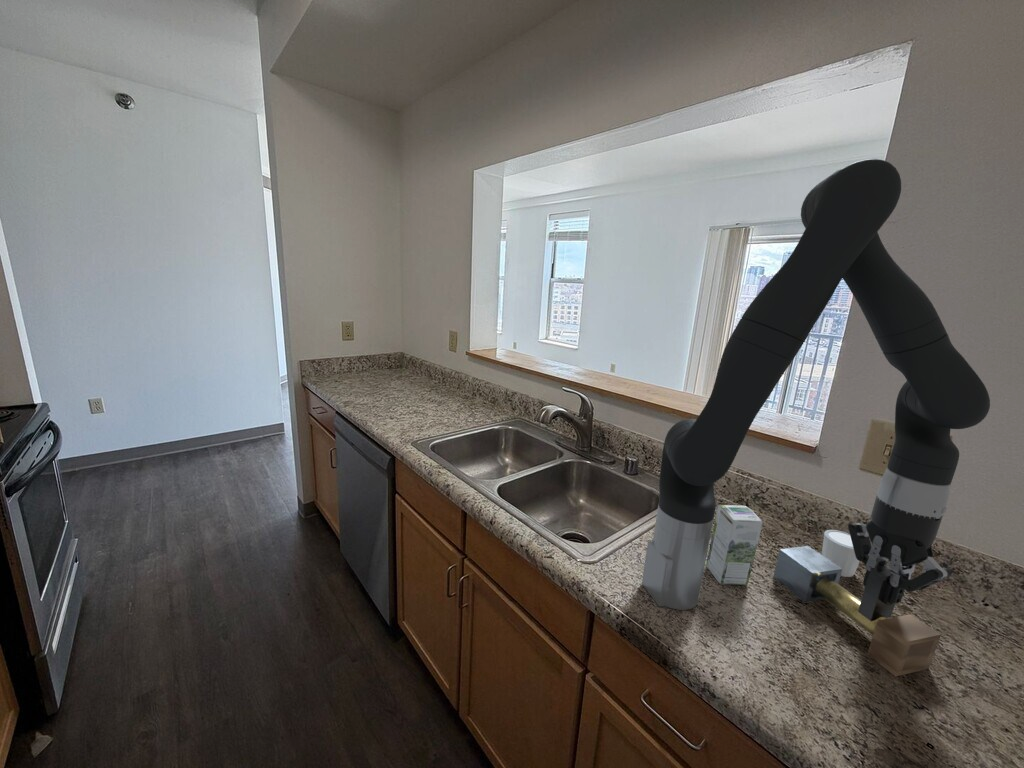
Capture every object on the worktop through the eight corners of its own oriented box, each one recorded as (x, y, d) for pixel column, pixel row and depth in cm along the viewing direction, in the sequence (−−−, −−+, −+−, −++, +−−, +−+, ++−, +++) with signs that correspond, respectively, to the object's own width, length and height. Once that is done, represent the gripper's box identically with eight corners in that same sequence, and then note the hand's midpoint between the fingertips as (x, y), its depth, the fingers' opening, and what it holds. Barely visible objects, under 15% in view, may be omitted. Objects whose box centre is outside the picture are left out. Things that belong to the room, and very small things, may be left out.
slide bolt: (811, 595, 76) (826, 540, 73) (830, 592, 77) (845, 538, 74) (889, 655, 64) (909, 592, 61) (909, 651, 65) (931, 588, 62)
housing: (773, 577, 83) (779, 549, 81) (801, 572, 84) (807, 545, 83) (804, 602, 76) (812, 573, 74) (834, 597, 78) (842, 568, 76)
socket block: (867, 653, 66) (877, 620, 64) (899, 646, 67) (910, 614, 66) (895, 676, 62) (907, 641, 60) (928, 668, 64) (940, 634, 62)
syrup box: (732, 566, 85) (745, 503, 82) (749, 586, 79) (763, 520, 76) (705, 565, 85) (717, 502, 81) (720, 586, 79) (733, 519, 76)
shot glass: (814, 566, 86) (821, 537, 85) (820, 553, 91) (827, 525, 90) (855, 584, 82) (864, 553, 80) (859, 569, 87) (868, 539, 85)
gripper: (845, 482, 68) (821, 571, 73) (947, 529, 55) (911, 635, 60) (879, 479, 70) (854, 566, 74) (985, 525, 57) (948, 627, 61)
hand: (879, 596), depth 67 cm, fingers closed on slide bolt, 2 cm apart
